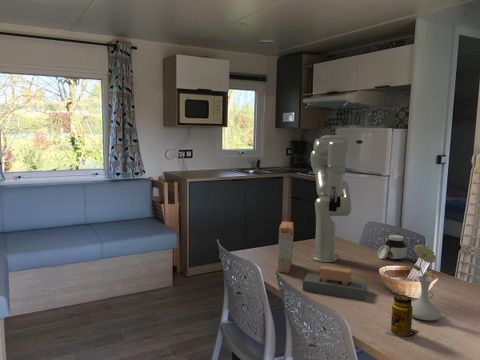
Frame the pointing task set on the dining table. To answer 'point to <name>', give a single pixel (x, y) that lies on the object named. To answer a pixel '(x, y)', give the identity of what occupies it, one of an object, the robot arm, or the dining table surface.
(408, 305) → the condiment
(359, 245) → the dining table surface
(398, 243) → the spread jar
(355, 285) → the gray socket block
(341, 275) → the clip
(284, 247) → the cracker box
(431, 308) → the flower in vase
